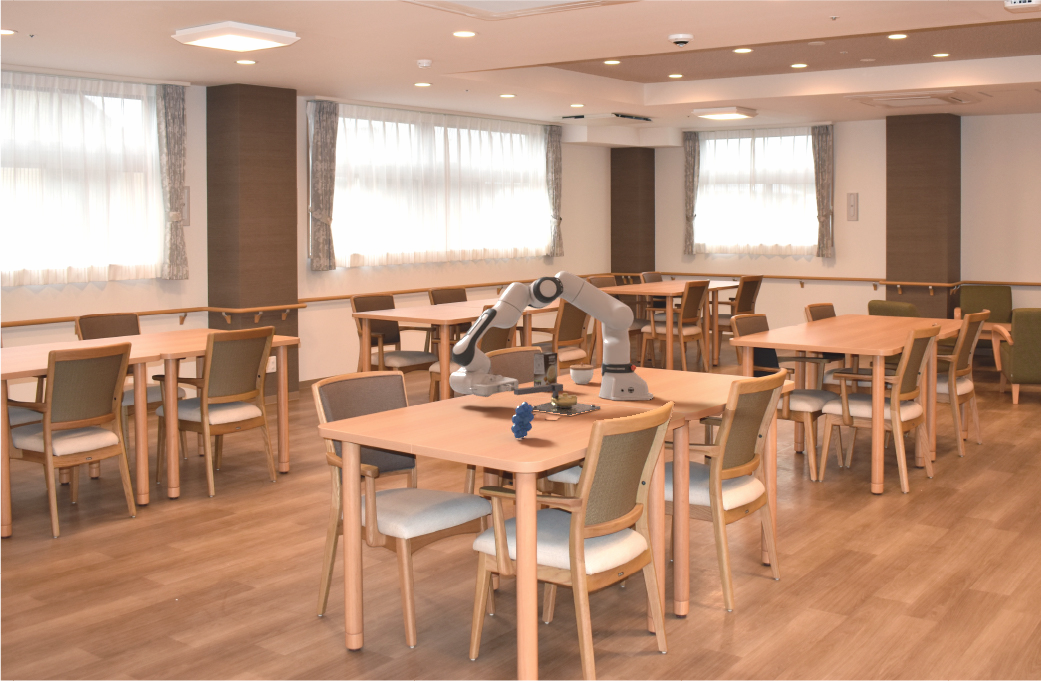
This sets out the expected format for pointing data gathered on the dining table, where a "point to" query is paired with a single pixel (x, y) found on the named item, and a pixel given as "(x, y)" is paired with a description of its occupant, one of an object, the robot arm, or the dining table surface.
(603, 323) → the robot arm
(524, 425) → the grapes
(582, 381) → the lidded jar
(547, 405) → the dark square board
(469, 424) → the dining table surface
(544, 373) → the coffee box
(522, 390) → the lever valve
